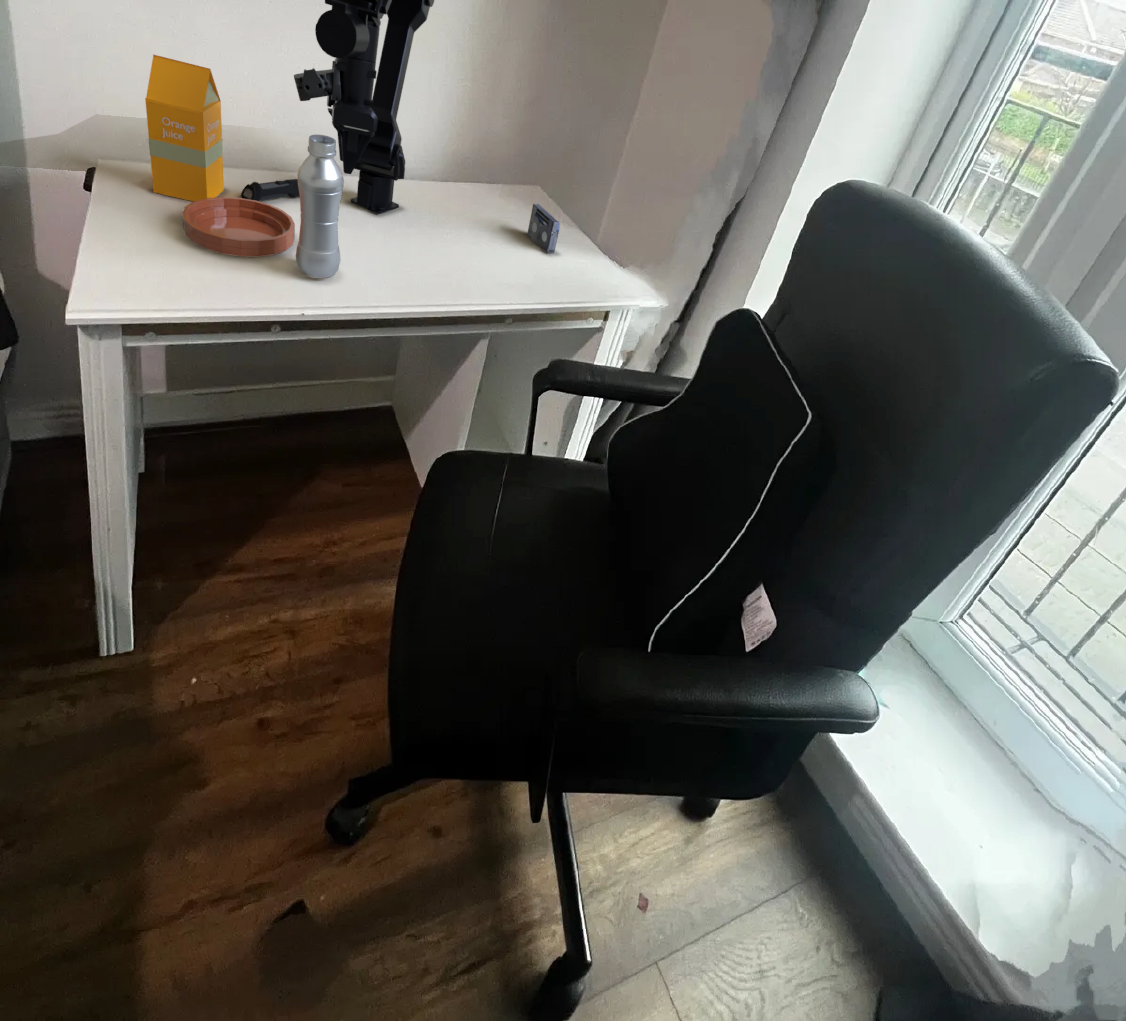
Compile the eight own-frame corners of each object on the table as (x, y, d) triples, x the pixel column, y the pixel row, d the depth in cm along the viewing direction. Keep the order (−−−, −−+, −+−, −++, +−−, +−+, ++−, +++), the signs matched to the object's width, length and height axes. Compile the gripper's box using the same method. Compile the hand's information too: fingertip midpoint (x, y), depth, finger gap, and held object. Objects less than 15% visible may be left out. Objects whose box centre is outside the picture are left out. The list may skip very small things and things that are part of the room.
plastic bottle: (347, 274, 128) (356, 142, 115) (323, 288, 123) (329, 151, 110) (312, 260, 129) (316, 127, 116) (286, 273, 124) (287, 136, 111)
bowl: (239, 207, 137) (239, 189, 136) (315, 243, 134) (316, 225, 132) (159, 229, 125) (158, 209, 123) (240, 269, 121) (240, 250, 120)
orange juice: (207, 205, 135) (201, 74, 123) (152, 192, 134) (140, 59, 122) (224, 189, 141) (220, 63, 129) (172, 177, 140) (162, 49, 128)
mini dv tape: (554, 253, 153) (561, 222, 149) (547, 253, 152) (554, 222, 148) (533, 234, 158) (540, 203, 154) (527, 234, 157) (533, 203, 153)
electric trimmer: (327, 197, 150) (328, 180, 148) (252, 206, 139) (252, 187, 137) (314, 189, 151) (315, 172, 149) (239, 198, 140) (239, 179, 138)
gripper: (298, 38, 126) (290, 145, 134) (301, 49, 111) (292, 169, 119) (371, 56, 130) (360, 159, 138) (383, 69, 115) (370, 184, 123)
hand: (345, 167), depth 129 cm, fingers open, 9 cm apart
